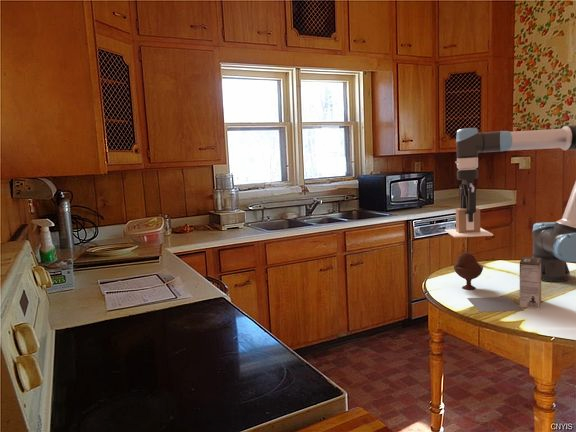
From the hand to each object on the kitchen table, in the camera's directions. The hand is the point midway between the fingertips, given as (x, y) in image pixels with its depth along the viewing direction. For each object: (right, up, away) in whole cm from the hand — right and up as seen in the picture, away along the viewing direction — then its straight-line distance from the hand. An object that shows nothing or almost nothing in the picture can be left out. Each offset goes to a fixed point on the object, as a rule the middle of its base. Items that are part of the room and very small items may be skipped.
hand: (468, 228), depth 170 cm
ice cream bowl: (+2, -24, +3) cm, 25 cm away
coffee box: (+15, -26, -18) cm, 35 cm away
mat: (+3, -27, -16) cm, 31 cm away
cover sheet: (0, -2, 0) cm, 2 cm away
